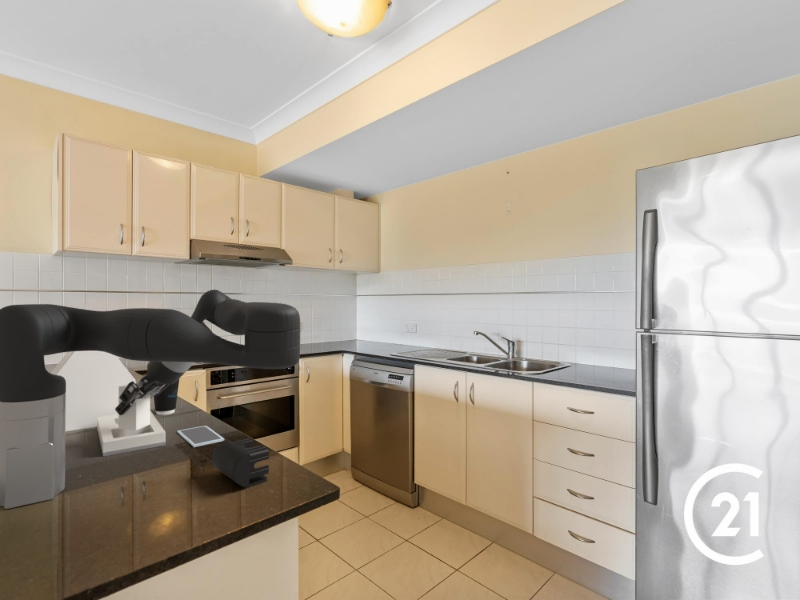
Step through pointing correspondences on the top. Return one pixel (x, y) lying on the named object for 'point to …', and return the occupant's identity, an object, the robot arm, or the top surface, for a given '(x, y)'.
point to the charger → (135, 413)
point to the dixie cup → (167, 399)
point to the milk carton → (91, 386)
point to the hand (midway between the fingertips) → (127, 409)
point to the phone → (200, 436)
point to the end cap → (241, 462)
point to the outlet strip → (128, 436)
